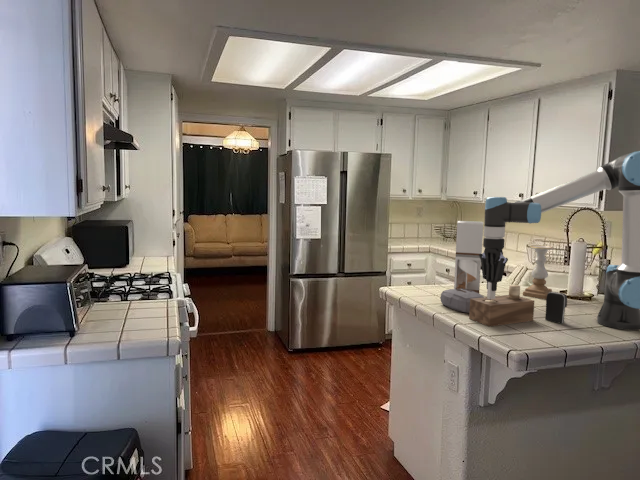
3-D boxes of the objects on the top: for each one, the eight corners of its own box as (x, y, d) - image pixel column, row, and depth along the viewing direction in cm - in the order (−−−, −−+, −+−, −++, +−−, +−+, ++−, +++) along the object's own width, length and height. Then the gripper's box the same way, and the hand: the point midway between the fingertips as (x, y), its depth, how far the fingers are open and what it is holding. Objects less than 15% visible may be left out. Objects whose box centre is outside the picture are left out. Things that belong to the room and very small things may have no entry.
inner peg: (521, 302, 189) (522, 286, 189) (513, 303, 188) (514, 287, 187) (513, 300, 193) (514, 284, 192) (506, 301, 192) (507, 285, 191)
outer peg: (497, 318, 185) (498, 302, 185) (488, 319, 184) (489, 302, 183) (489, 315, 189) (490, 299, 188) (481, 316, 187) (482, 300, 187)
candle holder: (530, 292, 239) (534, 244, 236) (554, 295, 232) (557, 246, 229) (522, 295, 231) (525, 246, 229) (545, 299, 224) (549, 248, 221)
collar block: (533, 320, 188) (534, 300, 187) (489, 326, 180) (490, 305, 179) (511, 313, 198) (513, 294, 197) (469, 318, 190) (470, 298, 189)
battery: (566, 322, 187) (569, 293, 185) (561, 324, 184) (564, 294, 183) (549, 318, 192) (551, 290, 191) (544, 319, 190) (546, 291, 188)
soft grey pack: (435, 305, 211) (467, 316, 193) (436, 286, 210) (468, 296, 192) (462, 301, 218) (495, 312, 200) (463, 283, 217) (496, 293, 199)
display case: (453, 296, 226) (457, 222, 222) (454, 292, 236) (458, 220, 232) (479, 299, 223) (483, 223, 219) (479, 294, 233) (483, 221, 229)
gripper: (514, 239, 178) (511, 301, 181) (489, 235, 190) (486, 294, 193) (499, 239, 175) (495, 303, 178) (474, 236, 187) (471, 295, 190)
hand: (491, 298), depth 185 cm, fingers closed
